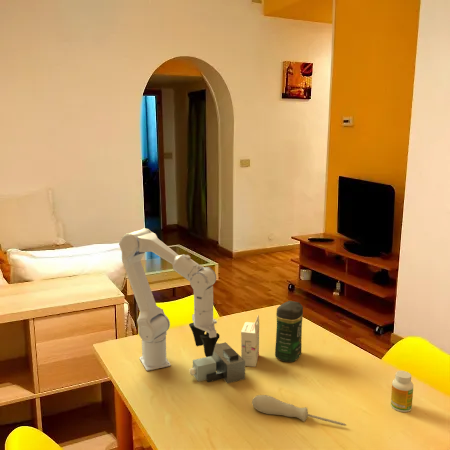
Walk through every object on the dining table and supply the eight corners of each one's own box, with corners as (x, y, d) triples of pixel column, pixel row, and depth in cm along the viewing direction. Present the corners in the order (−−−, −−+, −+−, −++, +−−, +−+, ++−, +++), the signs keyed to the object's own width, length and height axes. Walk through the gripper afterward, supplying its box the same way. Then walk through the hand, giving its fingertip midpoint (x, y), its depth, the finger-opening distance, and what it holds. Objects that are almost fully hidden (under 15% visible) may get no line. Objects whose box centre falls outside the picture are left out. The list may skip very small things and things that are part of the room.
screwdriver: (344, 438, 116) (345, 426, 115) (250, 413, 125) (249, 401, 123) (347, 424, 120) (348, 412, 119) (255, 400, 129) (255, 388, 127)
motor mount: (192, 363, 151) (192, 343, 150) (223, 356, 155) (223, 337, 154) (211, 387, 137) (211, 365, 135) (245, 379, 141) (245, 357, 140)
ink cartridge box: (244, 353, 158) (245, 312, 155) (259, 355, 157) (259, 313, 154) (240, 365, 149) (240, 322, 146) (255, 367, 148) (256, 324, 146)
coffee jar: (294, 365, 150) (296, 310, 146) (271, 359, 153) (273, 306, 150) (304, 353, 158) (306, 301, 154) (282, 348, 162) (284, 297, 158)
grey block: (188, 375, 143) (188, 360, 142) (210, 370, 146) (210, 356, 145) (193, 382, 139) (193, 367, 138) (216, 377, 142) (216, 362, 141)
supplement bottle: (409, 415, 123) (412, 381, 121) (388, 408, 126) (390, 375, 124) (413, 405, 127) (416, 372, 126) (393, 399, 130) (395, 367, 128)
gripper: (225, 314, 134) (225, 358, 137) (206, 298, 147) (207, 338, 150) (203, 318, 131) (203, 363, 134) (185, 302, 144) (186, 342, 147)
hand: (204, 350), depth 141 cm, fingers open, 7 cm apart
